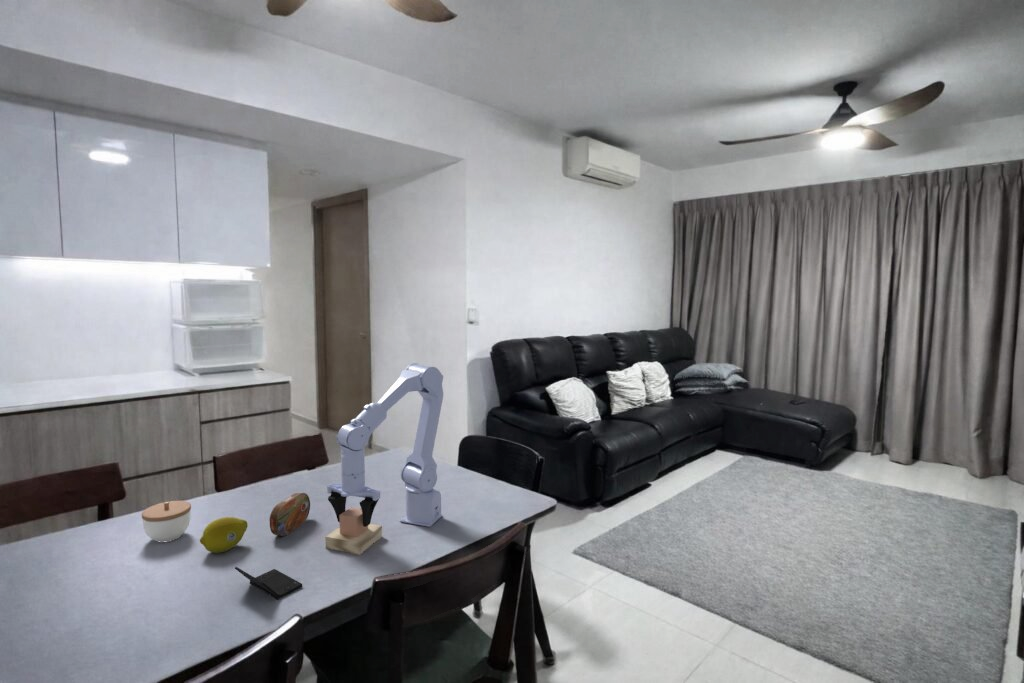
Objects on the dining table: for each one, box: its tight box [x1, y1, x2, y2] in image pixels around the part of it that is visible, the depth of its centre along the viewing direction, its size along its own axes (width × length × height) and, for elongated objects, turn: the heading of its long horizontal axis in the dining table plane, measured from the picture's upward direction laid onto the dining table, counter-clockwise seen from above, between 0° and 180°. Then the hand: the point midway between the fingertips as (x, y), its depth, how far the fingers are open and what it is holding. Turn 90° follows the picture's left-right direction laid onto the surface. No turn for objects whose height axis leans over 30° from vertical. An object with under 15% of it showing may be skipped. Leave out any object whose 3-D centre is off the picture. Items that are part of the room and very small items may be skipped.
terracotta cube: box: [339, 506, 368, 537], centre depth 136 cm, size 5×5×5 cm
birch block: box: [325, 523, 383, 556], centre depth 136 cm, size 10×10×3 cm
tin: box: [269, 492, 311, 537], centre depth 143 cm, size 15×3×8 cm, turn 168°
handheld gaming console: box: [234, 566, 303, 601], centre depth 115 cm, size 12×7×10 cm
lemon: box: [199, 516, 249, 554], centre depth 131 cm, size 11×8×8 cm
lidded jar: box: [141, 500, 192, 542], centre depth 137 cm, size 11×11×9 cm
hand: (354, 522), depth 136 cm, fingers open, 7 cm apart
